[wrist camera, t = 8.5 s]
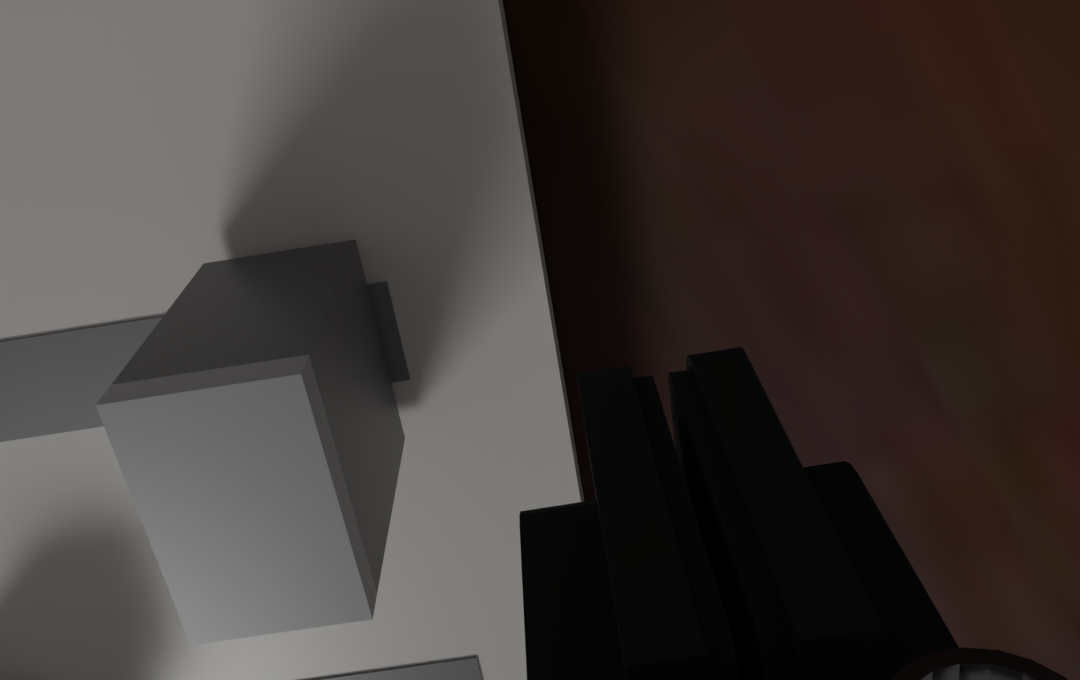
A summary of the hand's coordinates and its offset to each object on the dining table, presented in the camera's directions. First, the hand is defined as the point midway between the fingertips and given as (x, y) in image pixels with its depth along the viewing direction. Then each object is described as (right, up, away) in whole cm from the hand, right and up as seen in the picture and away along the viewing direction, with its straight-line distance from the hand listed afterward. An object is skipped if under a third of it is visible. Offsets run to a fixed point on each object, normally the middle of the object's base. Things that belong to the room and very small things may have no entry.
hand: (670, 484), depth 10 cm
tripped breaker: (-5, +1, +6) cm, 8 cm away
